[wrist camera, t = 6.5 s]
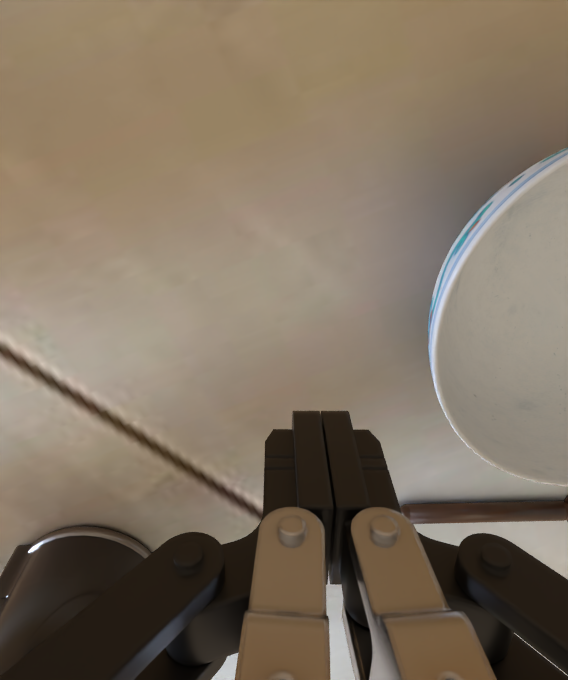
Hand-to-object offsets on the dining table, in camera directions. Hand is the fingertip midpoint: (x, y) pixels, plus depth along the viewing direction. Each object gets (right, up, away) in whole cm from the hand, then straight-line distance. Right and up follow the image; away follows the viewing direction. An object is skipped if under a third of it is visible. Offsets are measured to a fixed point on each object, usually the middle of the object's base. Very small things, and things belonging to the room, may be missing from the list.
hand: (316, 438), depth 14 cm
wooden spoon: (+14, -8, +19) cm, 25 cm away
